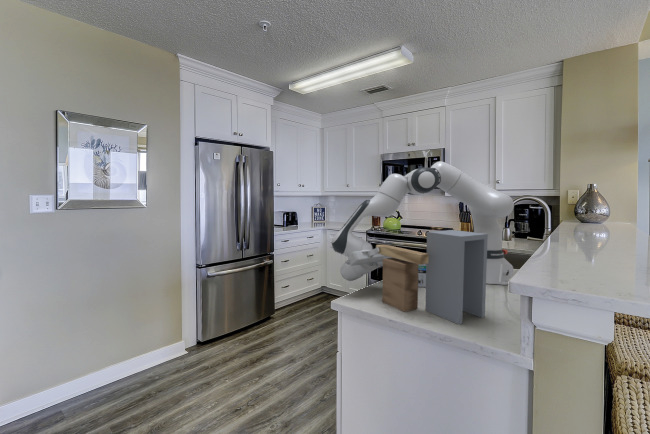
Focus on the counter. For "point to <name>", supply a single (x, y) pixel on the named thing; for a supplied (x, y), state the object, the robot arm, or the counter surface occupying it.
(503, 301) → the counter surface
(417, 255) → the oak slat
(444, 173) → the robot arm
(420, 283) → the light bulb box
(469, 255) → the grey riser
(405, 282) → the walnut block
